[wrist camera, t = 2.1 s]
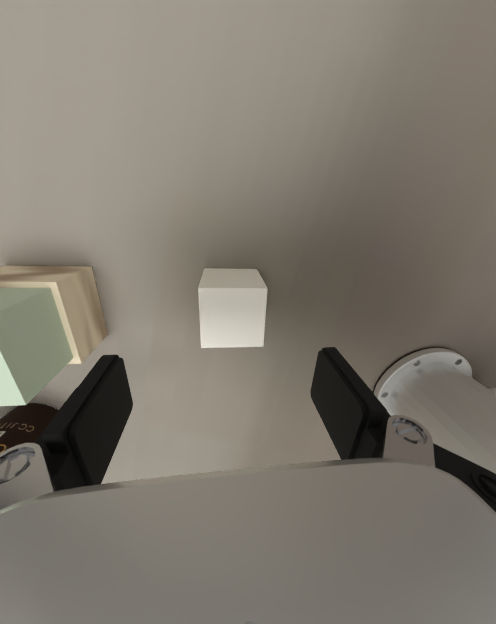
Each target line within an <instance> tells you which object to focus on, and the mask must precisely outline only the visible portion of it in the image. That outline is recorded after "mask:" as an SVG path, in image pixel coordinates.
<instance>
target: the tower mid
mask: <svg viewBox="0 0 496 624" xmlns="http://www.w3.org/2000/svg"><path fill="white" fill-rule="evenodd" d="M72 359H73V355H72V352H71V349H70V346H69V343H68V340H67V337H66V334H65V331H64V328H63V325H62V322H61V319H60V316H59V313H58V309H57V306H56V303H55V300H54V297H53V294H52V291H51V288H0V406H16V405H27V404H28V403H29V402H30V401H31V400H32V399H33V398H34V397H35V396H36V395H37V394H38V393H39V392H40V391H41V390H42V389H43V388H44V387H45V386H46V385H47V384H48V383H49V382H50V381H51V380H52V379H53V378H54V377H55V376H56V375H57V374H58V373H59V372H60V371H61V370H62V369H63V368H64V367H65V366H66V365H67V364H68V363H69V362H70V361H71V360H72Z"/></svg>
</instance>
